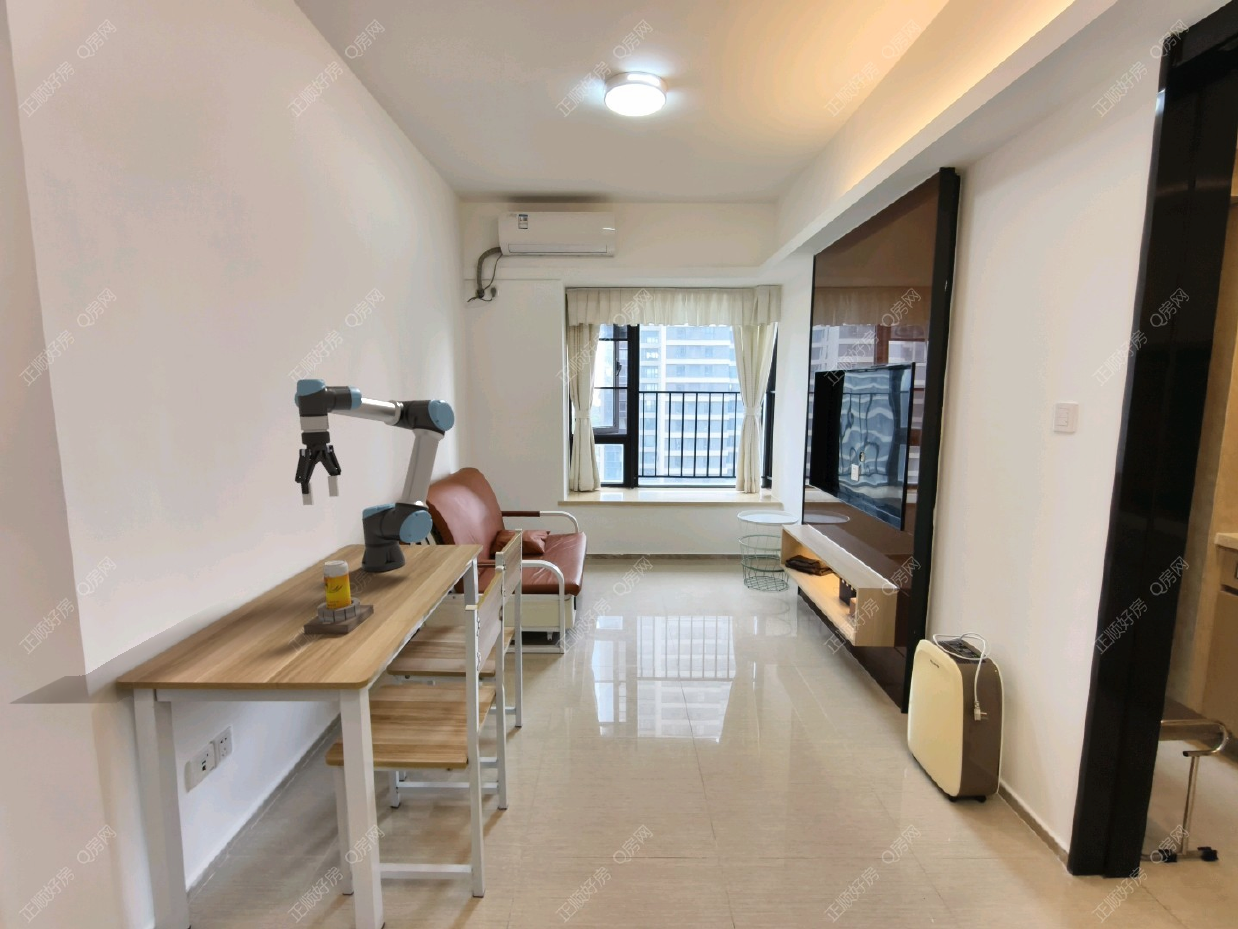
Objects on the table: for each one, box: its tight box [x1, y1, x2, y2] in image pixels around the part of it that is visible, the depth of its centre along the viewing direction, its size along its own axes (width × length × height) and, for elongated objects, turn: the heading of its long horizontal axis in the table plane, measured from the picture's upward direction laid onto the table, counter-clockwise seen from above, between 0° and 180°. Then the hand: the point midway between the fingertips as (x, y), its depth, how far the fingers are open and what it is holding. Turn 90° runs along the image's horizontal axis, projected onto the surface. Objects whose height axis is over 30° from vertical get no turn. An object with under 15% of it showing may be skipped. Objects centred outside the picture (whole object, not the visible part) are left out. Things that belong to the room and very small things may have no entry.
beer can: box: [322, 558, 352, 609], centre depth 153 cm, size 6×6×15 cm
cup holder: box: [303, 596, 374, 635], centre depth 153 cm, size 14×12×6 cm
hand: (321, 500), depth 168 cm, fingers open, 13 cm apart
